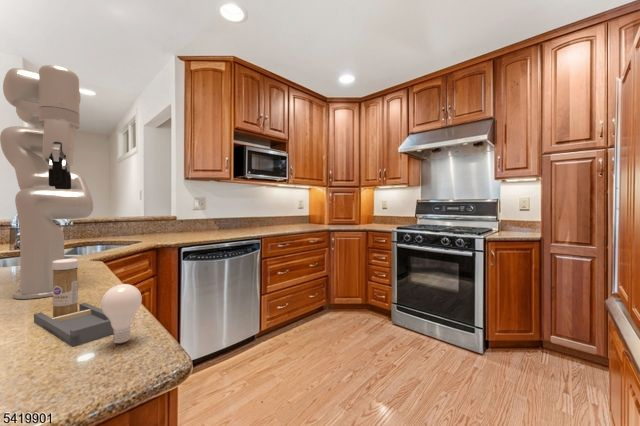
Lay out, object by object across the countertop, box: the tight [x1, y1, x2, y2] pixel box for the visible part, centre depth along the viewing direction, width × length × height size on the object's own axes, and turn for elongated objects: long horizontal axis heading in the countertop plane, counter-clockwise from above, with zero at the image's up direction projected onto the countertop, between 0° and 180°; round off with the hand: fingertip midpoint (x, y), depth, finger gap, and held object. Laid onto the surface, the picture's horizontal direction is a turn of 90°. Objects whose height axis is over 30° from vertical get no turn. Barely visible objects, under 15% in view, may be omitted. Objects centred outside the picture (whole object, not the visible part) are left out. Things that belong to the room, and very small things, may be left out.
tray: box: [33, 302, 114, 347], centre depth 63 cm, size 22×9×3 cm, turn 58°
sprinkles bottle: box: [52, 258, 79, 318], centre depth 67 cm, size 5×5×14 cm
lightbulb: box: [100, 283, 143, 345], centre depth 54 cm, size 6×6×11 cm
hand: (60, 187), depth 73 cm, fingers open, 9 cm apart
